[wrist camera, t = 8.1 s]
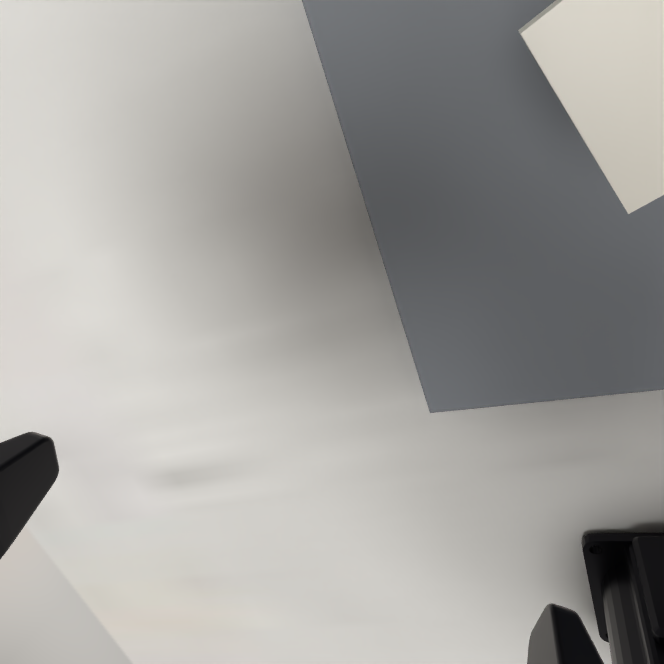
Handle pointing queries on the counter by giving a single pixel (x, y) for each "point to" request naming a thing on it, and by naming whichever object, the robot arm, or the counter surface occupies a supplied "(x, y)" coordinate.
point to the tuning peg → (609, 85)
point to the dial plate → (491, 207)
